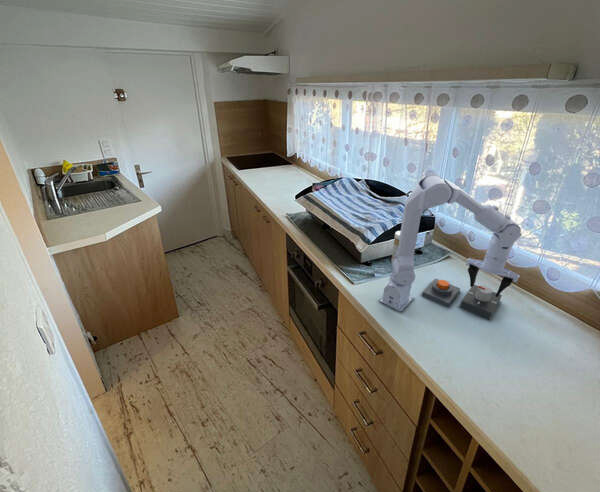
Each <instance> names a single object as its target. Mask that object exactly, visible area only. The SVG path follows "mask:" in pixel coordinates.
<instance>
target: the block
mask: <svg viewBox="0 0 600 492" xmlns="http://www.w3.org/2000/svg"><path fill="white" fill-rule="evenodd" d="M439 280H440V279H439V278H436V277H435V278H434V279H433V280H432V282H431V283H430V284H429V285H428V286H427V287H426V288H425V289H424V290H423V291H422V293H421V296H422V297H424V298H427V299H428V300H431V301H433V302H435V303H437V304H440V305H442V306H444V307H447V308H449V306H450V305H451V304H452V302H453V301H454V300H455V298H456V297H457V296H458V294H459V293H460V290H461V287H458V286H455V285H454V284H451V283H449V287H448V289H447V290H443V289H440V288H438V287H437V284H438V281H439Z"/></svg>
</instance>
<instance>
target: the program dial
mask: <svg viewBox="0 0 600 492" xmlns="http://www.w3.org/2000/svg"><path fill="white" fill-rule="evenodd" d="M477 286H478V287H477V290H476V293H475V297H476V299H478V300H480V301H483V302H488V301H489V300H490V297H491V295H492V292H494V290H493V289H492V288H491V287H490V286H487V285H482V284H481V285H477Z"/></svg>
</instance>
